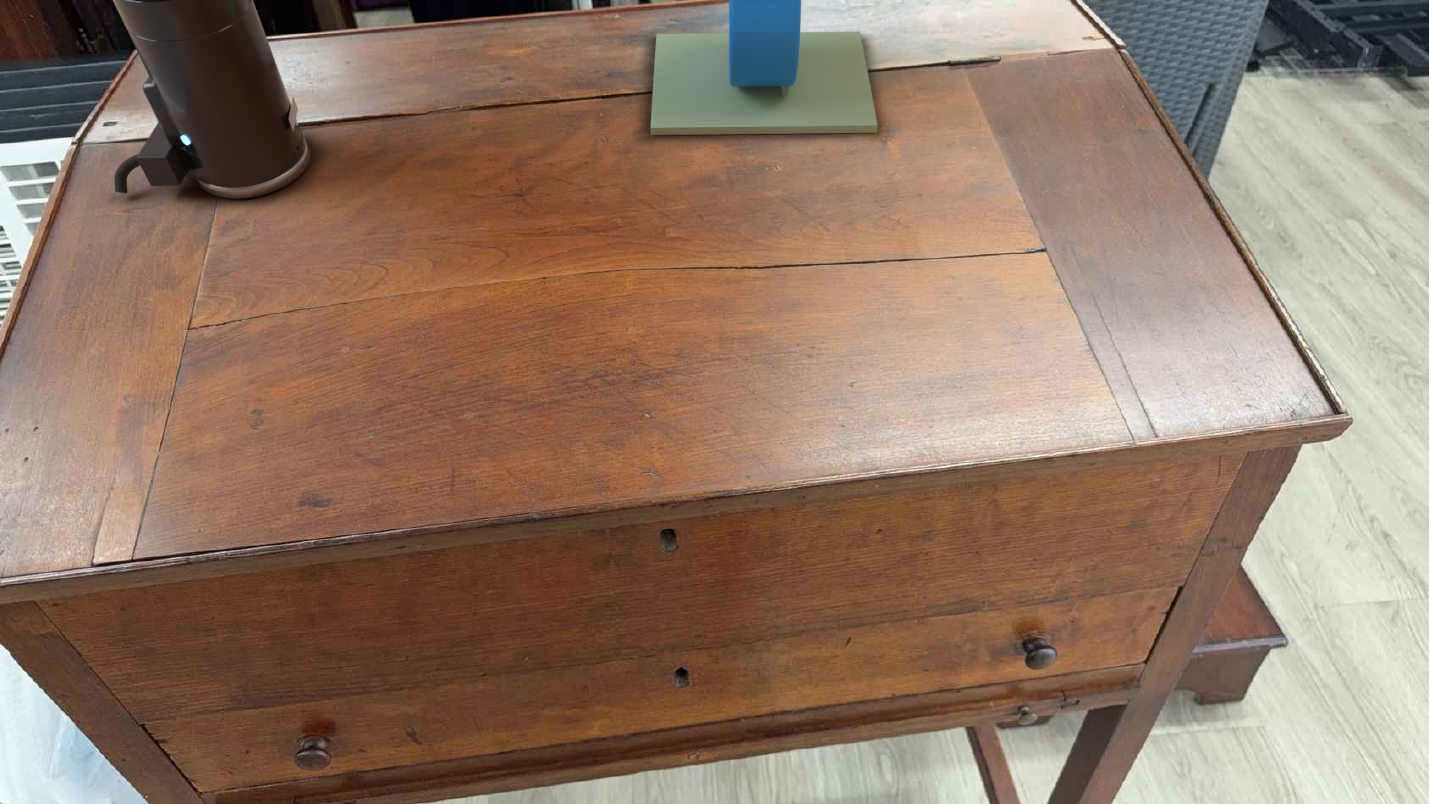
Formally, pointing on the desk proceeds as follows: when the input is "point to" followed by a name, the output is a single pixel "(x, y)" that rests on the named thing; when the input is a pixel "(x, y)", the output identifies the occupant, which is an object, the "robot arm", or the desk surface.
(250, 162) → the robot arm
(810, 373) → the desk surface
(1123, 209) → the desk surface
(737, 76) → the alarm clock
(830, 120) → the mat
